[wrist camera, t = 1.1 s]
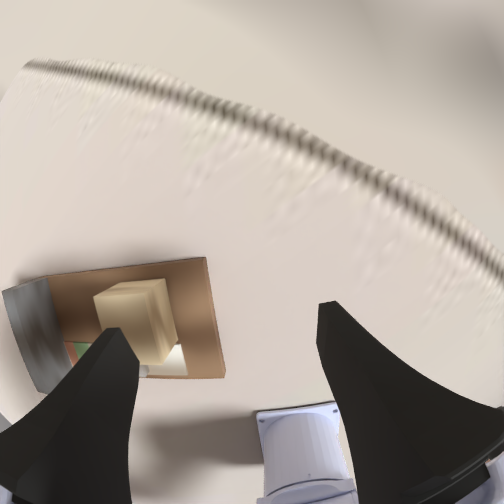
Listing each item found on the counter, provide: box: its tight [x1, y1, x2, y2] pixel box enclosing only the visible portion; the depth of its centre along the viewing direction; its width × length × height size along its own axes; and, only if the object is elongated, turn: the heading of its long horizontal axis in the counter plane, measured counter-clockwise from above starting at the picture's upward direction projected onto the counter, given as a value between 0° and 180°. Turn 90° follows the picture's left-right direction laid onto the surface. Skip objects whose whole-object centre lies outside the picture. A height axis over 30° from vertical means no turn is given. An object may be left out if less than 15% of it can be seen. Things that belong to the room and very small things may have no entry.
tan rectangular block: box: [93, 278, 178, 377], centre depth 18 cm, size 8×4×4 cm, turn 7°
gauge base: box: [2, 257, 226, 394], centre depth 19 cm, size 10×18×6 cm, turn 97°
